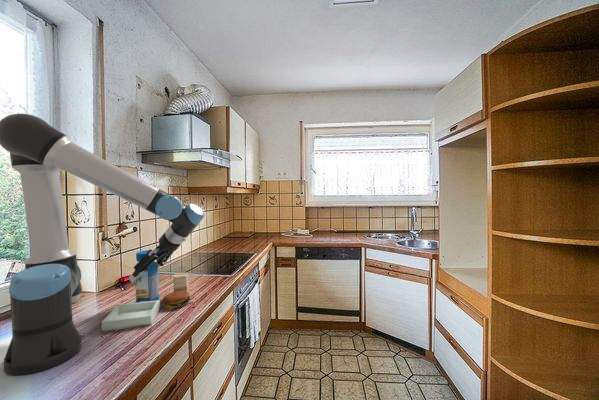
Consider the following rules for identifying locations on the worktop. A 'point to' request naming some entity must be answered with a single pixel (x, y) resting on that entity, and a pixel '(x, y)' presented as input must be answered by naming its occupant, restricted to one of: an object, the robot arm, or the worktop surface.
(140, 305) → the tray
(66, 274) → the robot arm
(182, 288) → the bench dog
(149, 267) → the blue supplement bottle
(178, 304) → the burger
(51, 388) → the worktop surface
